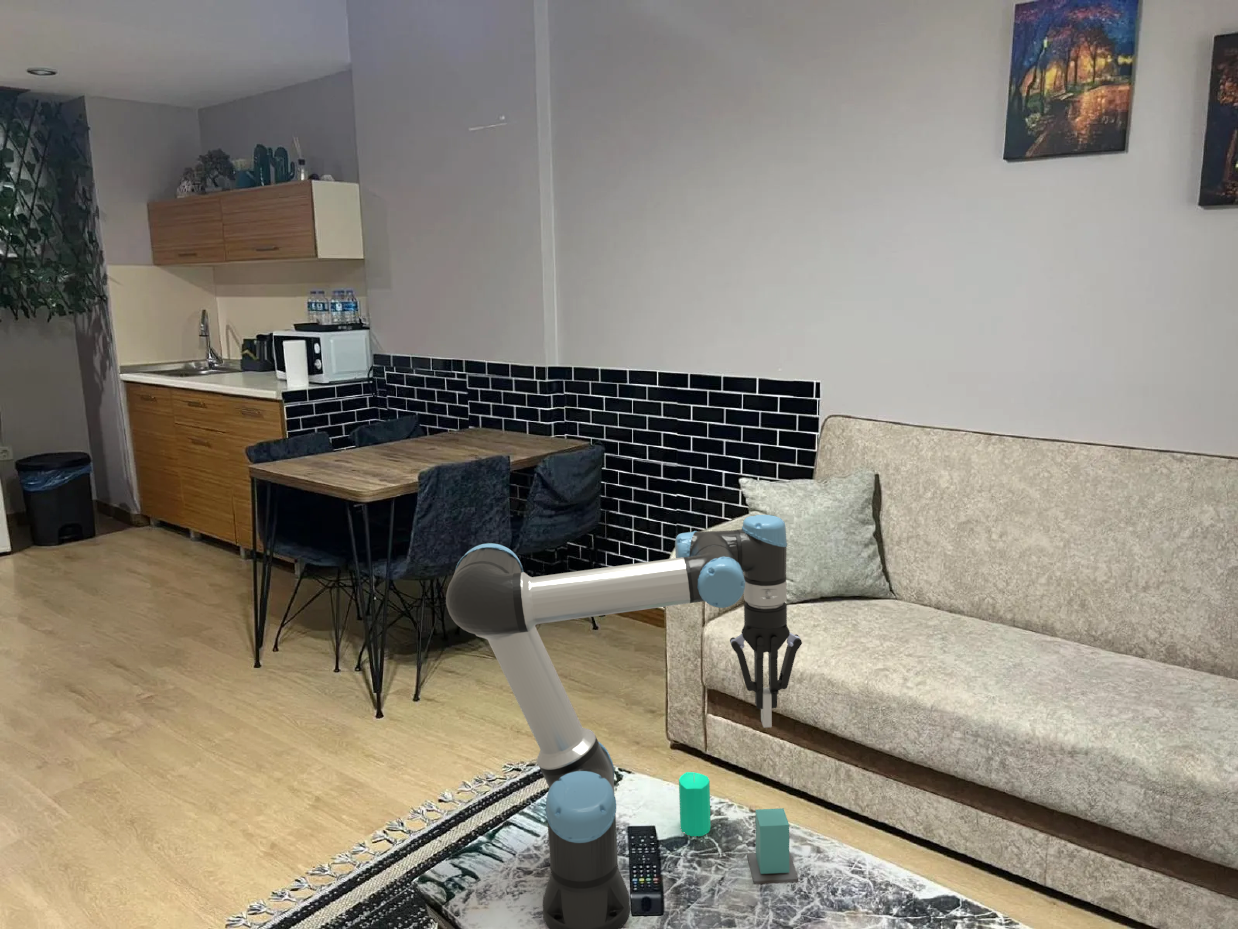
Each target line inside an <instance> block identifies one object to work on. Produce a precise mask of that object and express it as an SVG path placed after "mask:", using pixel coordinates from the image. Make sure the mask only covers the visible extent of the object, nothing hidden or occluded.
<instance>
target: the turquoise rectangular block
mask: <svg viewBox="0 0 1238 929" xmlns="http://www.w3.org/2000/svg"><path fill="white" fill-rule="evenodd" d="M754 815H755V853H756V858H757V862H758V866H759V870H760V873H761V874H768V873H789V851H790V823H789V820H788V817H787V815H786V812H785V808H784V807H783V808H781V807H780V808H779V807H778V808H763V809H762V808H761V809H760V808H758V809H755V814H754Z"/></svg>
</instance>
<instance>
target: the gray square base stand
mask: <svg viewBox="0 0 1238 929" xmlns="http://www.w3.org/2000/svg"><path fill="white" fill-rule="evenodd" d="M746 855H747V856H746V857H747V861H748V866H749V870H750V872H751V873H750V874H751V877H752V882H753V884H754V885H762V884H781V883H784V884H785V883H799V877H798V873H797V869H796V867H795V864H794V861H793V857H792V855H791V852H790V850H789V873H768V874H761V873H760V870H759V866H758V862H757V858H756V852H750V853H746Z"/></svg>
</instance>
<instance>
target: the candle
mask: <svg viewBox="0 0 1238 929" xmlns="http://www.w3.org/2000/svg"><path fill="white" fill-rule="evenodd" d="M710 784H711V783H710V778H709V776H708V775H705V774H703V773H699V772H694V771H693V772H692V771H686V772H684V773H683V774H682V775H680V777H679V779H678V794H679V795H678V796H679V798H678V799H679V823H680V824H679V825H680V827H681V828H680V830H681V829H682V830H681V832H682V833H683V832H685V835H686V834H687V836H688V835H690V836H689V837H693V836H695V837H694V838H697V837H696V836H698V837H703V836H706V835H707V834H709V833H710V830H711V828H712V826H711V825H712V824H711V788H710V787H711V786H710Z"/></svg>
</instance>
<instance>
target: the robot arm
mask: <svg viewBox="0 0 1238 929" xmlns="http://www.w3.org/2000/svg"><path fill="white" fill-rule="evenodd" d="M786 529H787V528H786V524H785V521H784V520H783V519H782V518H781V517H779V516H776V515H772V514H756V515H751V516H747V517H745V519H743V522H742V526H741V529H735V530H734V529H733V530H730V529H729V530H712V531H711V530H710V531H706V530H705V531H704V530H703V531H699V530H698V531H697V530H694V531H688V532H682V533H678V535H677V536H676V537H675V542H674V546H675V547H674V548H675V549H674V550H675V551H674V552H675V553H674V554H675V555H674V556H675V557H674V558H667V559H660V560H653V561H646V562H637V563H629V564H622V565H616V566H609V567H607V566H606V567H601V568H599V567H598V568H593V569H584V570H578V571H577V570H576V571H570V572H563V573H562V572H561V573H555V574H548V575H540V576H533V577H532V576H530V575H528V573H526V572H524V569H523V565H522V563H521V561H520V559H519V558H518V556H517V554H516V553H515V552H514V551H513V550H511V549H510V548H508V547H506V546H504V545H502V544H498V543H494V542H493V543H491V542H490V543H482V544H478V545H475V546H474V547H472V548H470V549H469V550H468V551H467V552H466V553H465V554H464V555H463V556H462V557H461V558H460V559H459V561H458V562H457V563H456V564H457V565H456V566H455V569H454V570H455V571H454V573H453V576H452V578H451V580H450V582H449V584H448V587H447V591H446V594H445V601H446V602H445V604H446V608H447V611H448V614H449V616H450V617H451V620H453V622H454V623H455V624H456V625H457V626H458V627H460V628H461V629H462V630H463V631H466V632H468V633H470V634H473V635H475V636H476V637H479V638H481V639H482V638H483V639H485V640H487V641H488V644H489V646H490V647H491V650H492V652H493V653H494V656H495V659H496V660H497V662H498V664H499V666H500V669H501V671H502V673H503V675H504V677H505V678H506V681H507V683H508V685H509V687H510V689H511V692H512V693H513V696H514V698H515V700H516V703H517V704H518V706H519V708H520V710H521V712H522V715H523V716H524V718H525V720H526V722H527V725H528V727H529V729H530V732H531V733H532V736H533V737H534V739H535V741H536V743H537V746H538V747H539V750H540V751H539V753H538V755H537V758H536V763H537V765H538V767H539V769H540V771H541V773H542V776H543V777H544V780H545V782H546V784H547V786H548V788H549V789H548V792H547V795H546V801H545V817H546V819H547V832H548V834H547V835H548V848H549V850H548V851H549V864H550V866H549V867H550V874H549V878H548V880H547V884H546V888H545V892H544V894H543V899H542V915H543V916H542V917H543V920H544V923H545V925H546V927H547V928H548V929H621V928H622V927H623V926H624V925H625V924H626V922H627V920H628V919H629V916H630V911H631V905H630V904H631V902H630V901H631V900H630V898H631V897H630V893H629V889H628V887H627V885H626V882H625V881H624V878H623V876H622V874H621V870H620V869H619V859H618V858H619V857H618V838H617V836H618V835H617V821H616V820H617V817H616V815H617V814H616V813H617V800H616V799H617V798H616V796H615V782H614V781H615V770H614V769H615V767H614V763H613V760H612V757H611V756H610V753H609V750H608V749H607V748H606V746H604V744H602V743H601V742H600V741H599V740H598V738H597V736H596V733H594V731H593V730H591V729H589V728H585V727H583V725H582V724H581V722H580V718H578V714H577V713H576V710H575V709H574V707H573V704H572V702H571V699H570V697H569V696H568V694H567V691H566V688H565V687H564V685H563V683H562V681H561V679H560V677H559V674H558V671H557V670H556V668H555V665H554V664H553V661H552V659H551V657H550V655H549V652H548V651H547V649H546V646H545V644H544V642H543V640H542V638H541V635H540V633H539V632H538V629H537V627H536V625H539V624H547V623H548V624H549V623H553V622H555V623H556V622H562V621H567V620H568V621H569V620H575V619H585V618H592V617H599V616H604V615H605V616H606V615H613V614H614V615H615V614H620V613H629V612H635V611H636V612H637V611H643V610H650V609H657V608H664V607H665V608H666V607H671V606H679V605H686V604H687V605H688V604H695V603H696V604H697V603H703V602H705V603H706V604H708V605H709V606H712V607H715V608H719V609H720V608H721V609H725V608H729V607H731V606H734V605H735V604H736V603H738V601H739V600H740V599H741V598H742V596H743V599H744V601H745V602H744V604H743V618H744V620H743V623H744V624H743V627H742V630H741V634H739V635H737V636H736V637H730V639H729V642H730V645H731V646H730V647H732V649H733V651H734V652H735V654H736V657H737V659H738V660H737V661H738V663H739V666H740V670H741V673H742V677H743V681H744V685H745V686H746V690H747V691H749V692H751V691H752V692H754V700H755V701H754V702H755V703H754V704H755V707H756V709H757V710H760V721H761V724H762V727H763V729H764V728H765V729H766V728H772V727H773V726H772V725H773V724H772V723H773V722H772V721H773V720H772V719H773V718H772V712H773V711H772V709H777V707H778V694H779V691H781V690H786V689H788V686H789V683H790V678H791V675H792V670H793V668H794V667H793V666H794V663H795V658H796V654H797V652H798V651H799V649H800V647H801V646H802V644H803V641H802V639H801V637H800V635H799V634H794V633H792V632H791V631H790V629H789V627H788V621H787V620H788V616H787V613H788V608H787V607H788V606H787V605H788V604H787V603H786V601H787V599H788V596H787V595H788V594H787V549H788V548H787V547H788V543H787V531H786ZM745 642H746V643H747V645H749V647H750V648H751V649H752V650H753V658H754V659H753V660H754V664H753V665H754V666H753V667H754V669H753V670H754V671H753V672H754V674H753V676H754V681H753V680H752V678H751V674H750V671H749V666H748V663H747V660H746V659H747V658H746V656H745V652H744V650H743V649H745ZM785 642H786V644H787V645H786V648H785V652H784V653H785V654H784V656H783V657H784V658H783V660H782V665H781V668H780V671H779V670H778V657H779V650H780V649H781V647H782V646H783V645H784V643H785ZM764 653H768V654H767V655H768V658H767V660H768V687H764V658H765V656H764V655H765V654H764ZM778 671H779V674H778ZM778 675H779V678H778Z"/></svg>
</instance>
